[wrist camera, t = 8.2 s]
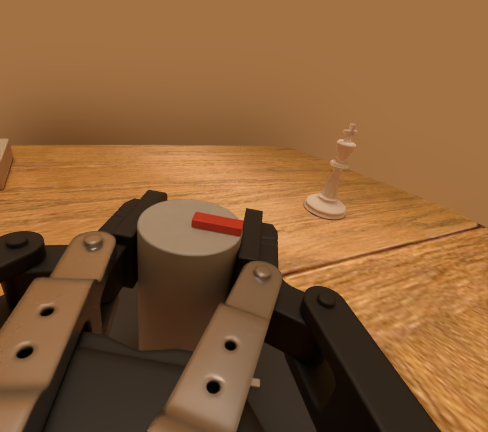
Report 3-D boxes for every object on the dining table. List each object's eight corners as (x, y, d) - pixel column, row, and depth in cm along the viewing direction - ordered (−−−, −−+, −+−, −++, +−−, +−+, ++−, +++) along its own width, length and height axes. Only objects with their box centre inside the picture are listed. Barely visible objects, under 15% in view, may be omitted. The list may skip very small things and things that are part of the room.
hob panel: (-63, 501, 10) (-87, 475, 9) (89, 295, 19) (86, 269, 18) (332, 573, 11) (353, 554, 10) (305, 335, 19) (315, 312, 18)
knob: (125, 400, 12) (117, 233, 8) (155, 331, 15) (158, 184, 11) (207, 415, 12) (238, 256, 8) (220, 344, 15) (248, 201, 11)
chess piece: (353, 217, 35) (388, 132, 30) (321, 222, 33) (353, 130, 28) (326, 197, 39) (352, 118, 34) (295, 200, 36) (319, 116, 32)
